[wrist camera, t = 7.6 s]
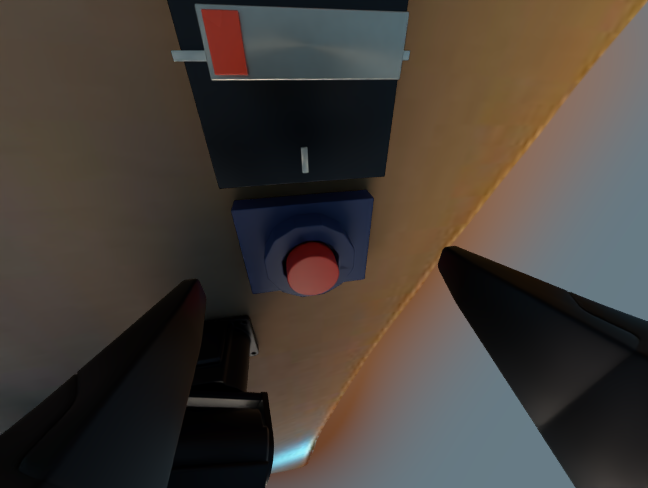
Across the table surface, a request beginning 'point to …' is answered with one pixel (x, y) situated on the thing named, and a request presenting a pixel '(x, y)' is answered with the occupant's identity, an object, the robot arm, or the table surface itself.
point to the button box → (302, 234)
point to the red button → (311, 268)
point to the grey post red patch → (301, 43)
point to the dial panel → (288, 112)
